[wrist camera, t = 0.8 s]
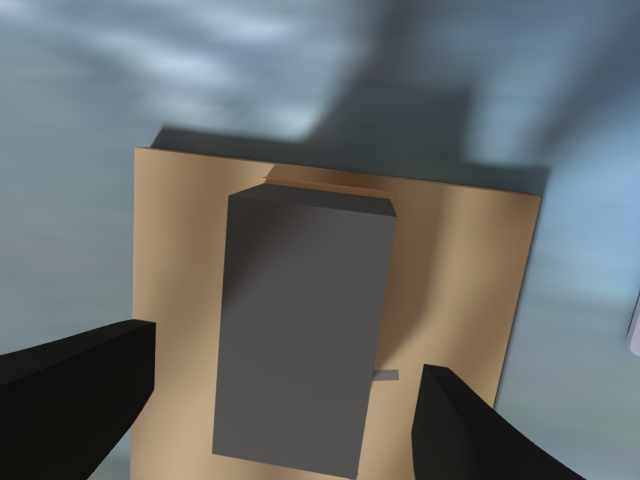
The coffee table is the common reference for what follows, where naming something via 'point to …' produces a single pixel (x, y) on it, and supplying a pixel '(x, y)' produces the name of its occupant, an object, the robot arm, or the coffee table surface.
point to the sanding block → (301, 322)
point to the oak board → (397, 318)
